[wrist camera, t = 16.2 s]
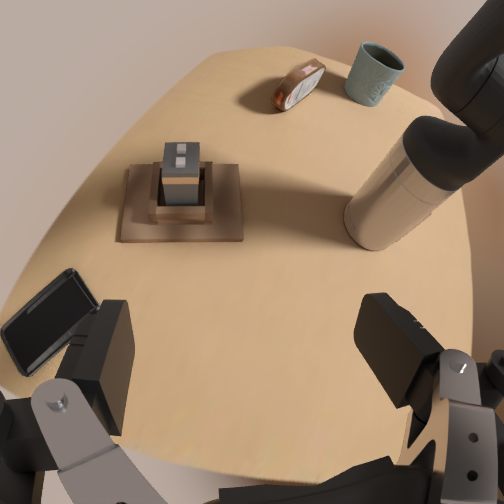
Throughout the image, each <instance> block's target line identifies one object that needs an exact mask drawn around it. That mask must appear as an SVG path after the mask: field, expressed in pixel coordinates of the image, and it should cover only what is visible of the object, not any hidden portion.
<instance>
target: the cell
mask: <svg viewBox="0 0 504 504" xmlns="http://www.w3.org/2000/svg"><path fill="white" fill-rule="evenodd" d="M199 143H200V142H173V143H165V148H164V157H163V166H162V183H163V187H164V194H165V201H166V206H198V184H199V154H200V147H199Z"/></svg>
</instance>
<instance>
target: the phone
mask: <svg viewBox="0 0 504 504" xmlns="http://www.w3.org/2000/svg"><path fill="white" fill-rule="evenodd" d="M99 308H100V305H99V303H98V302H97V300H96V299H95V298H94V296H93V295H92V293H91V292H90V290H89V289H88V287H87V286H86V284H85V283H84V281H83V279H82V278H81V276H80V275H79V273H78V272H77V271H76V270H75V269H73V268H69V269H67V270H66V271H64V272H63V273H62V274H61V275H60V276H58V277H57V278H56V279H55V280H54V281H52V282H51V283H50V284H49V285H48V286H47V287H46V288H44V289H43V290H42V291H41V292H40V293H39V294H38V295H36V296H35V297H34V298H33V299H32V300H31V301H30V302H29V303H27V304H26V305H25V306H24V307H23V308H22V309H21V310H20V311H19V312H18V313H17V314H15V315H14V316H13V317H12V318H11V319H10V320H9V321H8V322H7V323H6V324H5V325H4V326H3V327H2V329H1V337H2V339H3V341H4V343H5V345H6V347H7V349H8V351H9V353H10V355H11V357H12V359H13V361H14V362H15V364H16V366H17V368H18V370H19V371H20V373H21V374H22V375H23V376H26V377H30V376H32V375H33V374H34V373H36V372H37V371H38V370H39V369H40V368H41V367H42V366H43V365H45V364H46V363H47V362H48V361H49V360H50V359H51V358H53V357H54V356H55V355H56V354H57V353H58V352H60V351H61V350H62V349H63V348H64V347H65V346H66V345H68V344H69V343H70V341H71V339H72V337H74V332H75V330H76V328H77V326H78V324H79V323H80V322H81V321H82V320H83V319H84V318H86V317H87V316H88V315H89V314H91V315H97V313H98V311H99Z"/></svg>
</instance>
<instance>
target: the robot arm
mask: <svg viewBox="0 0 504 504" xmlns="http://www.w3.org/2000/svg"><path fill="white" fill-rule="evenodd" d="M431 89H432V91H433V94H434V95H435V97H436V98H437V99H438V100H439V101H440V102H441V103H442V104H443V105H444V106H445V107H446V108H447V109H448V110H449V111H450V112H452V113H453V114H454V115H455V116H457V117H458V118H459V119H460V120H461V121H462V122H463V123H465V124H466V125H467V126H460V125H455V124H452V123H449V122H446V121H444V120H441V119H439V118H436V117H432V116H420V117H418V118H416V119H415V120H414V121H413V122H412V123H411V124H410V125H409V126H408V128H407V129H406V130H405V132H404V133H403V134H402V136H401V137H400V138H399V140H398V141H397V142H396V144H395V145H394V146H393V148H392V149H391V150H390V152H389V153H388V154H387V155H386V157H385V158H384V159H383V161H382V162H381V163H380V164H379V166H378V167H377V168H376V169H375V171H374V172H373V173H372V175H371V176H370V177H369V178H368V180H367V181H366V182H365V183H364V185H363V186H362V187H361V188H360V190H359V191H358V192H357V193H356V194H355V196H354V197H353V198H352V199H351V201H350V202H349V203H348V205H347V206H346V208H345V211H344V223H345V226H346V229H347V231H348V233H349V234H350V236H351V237H352V238H353V240H354V241H356V242H357V243H358V244H359V245H360V246H362V247H364V248H366V249H368V250H373V251H380V250H384V249H385V248H387V247H388V246H390V245H391V244H392V243H394V242H397V241H399V240H400V239H401V238H402V237H404V236H405V235H406V234H408V233H409V232H410V231H411V230H413V229H414V228H415V227H416V226H418V225H419V224H420V223H421V222H423V221H424V220H425V219H426V218H428V217H429V216H430V215H431V212H432V211H434V210H435V209H436V208H437V207H438V206H440V205H441V204H442V203H443V202H444V201H445V200H446V199H448V198H449V197H450V196H451V195H452V194H453V193H455V192H456V191H457V190H458V189H459V188H461V187H462V186H463V185H464V184H466V183H468V182H470V181H472V180H474V179H475V178H476V177H477V176H479V175H480V174H481V173H482V172H483V171H484V170H486V169H487V168H488V167H489V166H491V165H492V164H493V163H494V162H496V161H497V160H498V159H499V158H501V157H502V156H503V155H504V0H487V1H486V2H485V4H484V5H483V6H482V7H481V8H480V10H479V11H478V12H477V13H476V14H475V15H474V17H473V18H472V19H471V20H470V21H469V22H468V23H467V25H466V26H465V27H464V28H463V29H462V30H461V32H460V33H459V34H458V35H457V36H456V37H455V38H454V40H453V41H452V42H451V43H450V45H449V46H448V47H447V48H446V49H445V51H444V52H443V54H442V55H441V56H440V58H439V60H438V61H437V63H436V65H435V67H434V69H433V72H432V76H431ZM354 341H355V344H356V346H357V348H358V349H359V351H360V352H361V354H362V355H363V357H364V359H365V360H366V362H367V363H368V365H369V366H370V368H371V369H372V371H373V372H374V374H375V376H376V377H377V379H378V380H379V382H380V383H381V385H382V387H383V388H384V390H385V391H386V393H387V394H388V396H389V398H390V399H391V401H392V402H393V404H394V405H395V407H396V409H398V408H401V407H404V406H407V405H410V406H411V407H412V408H411V410H410V412H409V413H408V418H407V423H406V429H405V434H404V440H403V445H402V449H401V454H400V457H399V460H398V462H397V464H396V465H394V464H393V462H392V460H391V458H390V457H389V456H386V457H383V458H380V459H377V460H373V461H370V462H367V463H364V464H360V465H357V466H353V467H352V468H350V469H348V470H346V471H344V472H342V473H340V474H339V475H337V476H335V477H333V478H331V479H329V480H327V481H325V482H323V483H321V484H319V485H316V486H284V485H267V484H265V485H256V486H246V487H235V488H221V489H219V499H216V500H212V501H209V502H206V503H204V504H504V501H501V500H498V499H497V488H498V487H499V489H500V490H501V492H502V494H503V496H504V424H503V423H502V421H501V420H500V418H499V417H498V416H497V414H496V413H495V412H494V411H495V409H496V408H497V407H498V405H499V404H500V402H501V401H502V400H503V398H504V350H495V351H494V352H493V353H492V354H491V356H490V358H489V360H488V362H487V363H475V362H474V360H473V359H472V358H471V357H470V356H469V355H468V354H466V353H464V352H462V351H460V350H456V349H448V350H445V349H444V348H443V347H442V346H441V345H440V344H439V343H438V342H437V340H436V339H435V338H434V337H433V336H432V335H431V334H430V333H429V332H428V331H427V330H426V329H425V328H423V326H422V325H421V323H420V322H419V321H418V322H417V319H416V318H415V317H414V316H413V315H412V314H411V313H410V312H409V311H407V310H406V309H404V308H402V307H401V306H399V305H398V304H397V303H396V302H395V301H394V300H393V299H392V298H391V297H390V296H389V295H388V294H387V293H371V294H366V295H365V296H364V297H363V299H362V303H361V307H360V310H359V314H358V318H357V321H356V325H355V328H354ZM69 344H70V346H68V348H67V350H66V352H65V355H64V357H63V359H62V362H61V364H60V366H59V369H58V371H57V374H56V376H55V378H54V379H51V380H48V381H46V382H44V383H42V384H40V385H39V386H38V387H37V388H36V389H35V391H34V392H33V394H32V397H29V398H21V399H11V400H6V399H5V397H4V396H3V394H2V392H1V391H0V504H41V496H42V489H43V482H44V475H45V471H49V470H59V471H58V476H59V478H60V480H61V482H62V484H63V486H64V488H65V490H66V491H67V493H68V495H69V496H70V498H71V500H72V502H73V503H74V504H168V503H167V502H166V501H165V500H164V499H163V498H162V497H161V496H160V495H159V494H158V493H157V491H156V490H155V489H154V488H153V487H152V486H151V484H150V483H149V482H148V481H147V480H146V479H145V477H144V476H143V475H142V474H141V473H140V471H139V470H138V469H137V468H136V466H135V465H134V464H133V463H132V462H131V460H130V459H129V457H128V456H127V455H126V454H125V452H124V451H123V450H122V448H121V447H120V446H119V445H118V444H115V443H114V442H113V440H112V439H111V438H110V435H113V436H121V434H122V427H123V420H124V413H125V406H126V400H127V394H128V388H129V382H130V377H131V371H132V366H133V361H134V355H135V343H134V336H133V330H132V325H131V319H130V313H129V306H128V303H127V301H126V300H103V302H102V304H101V306H100V308H99V311H98V313H97V315H91V314H89V315H88V316H87V317H86V318H84V319H83V320H82V321H81V322H80V323H79V324H78V326H77V328H76V330H75V332H74V337H72V339H71V341H70V343H69Z"/></svg>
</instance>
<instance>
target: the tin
mask: <svg viewBox="0 0 504 504" xmlns="http://www.w3.org/2000/svg"><path fill="white" fill-rule="evenodd" d="M325 70H326V67H325V65H324V64H322V63H321V62H319V61H317V59H315V58H314V59H311V60H309V61H308V62H306V63H304V64H302V65H301V66H299V67H297V68H295V69H293V70H292V71H290V72H289V73H288V74H287V75H286V76H285V77H284V78H283V79H282V81H281V82H280V83H279V85H278V86H277V88H276V90H275V92H274V94H273V96H272V100H271V103H272V105H275V106H276V107H278V108H279V109H281V110H282V111H287V110H289V109H290V108H292V107H293V106H294V105H296V104H297V103H298V102H300V101H301V100H302V99H304V98H305V97H306V96H308V95H309V94H310V93H311V92H312V91H313V90H314V89H315V87H316V86H317V85H318V83H319V81H320V79H321V77H322V75H323V73H324V71H325Z"/></svg>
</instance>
